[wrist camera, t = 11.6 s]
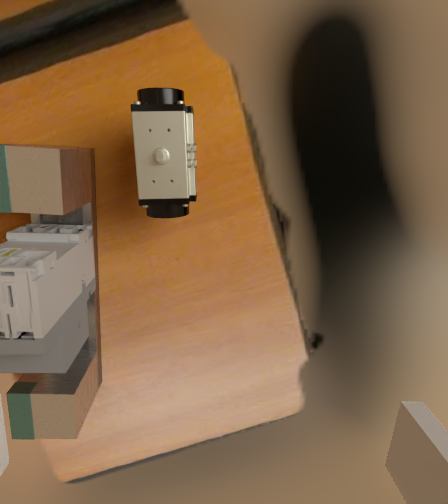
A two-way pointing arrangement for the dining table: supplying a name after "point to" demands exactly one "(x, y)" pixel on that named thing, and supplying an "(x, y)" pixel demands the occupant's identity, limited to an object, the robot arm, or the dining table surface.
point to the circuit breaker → (44, 296)
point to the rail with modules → (89, 357)
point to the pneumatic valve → (164, 152)
